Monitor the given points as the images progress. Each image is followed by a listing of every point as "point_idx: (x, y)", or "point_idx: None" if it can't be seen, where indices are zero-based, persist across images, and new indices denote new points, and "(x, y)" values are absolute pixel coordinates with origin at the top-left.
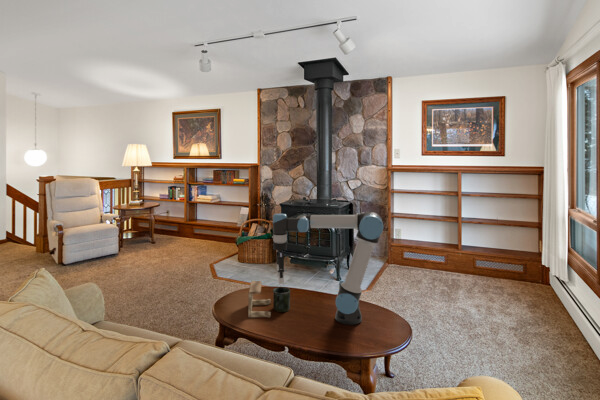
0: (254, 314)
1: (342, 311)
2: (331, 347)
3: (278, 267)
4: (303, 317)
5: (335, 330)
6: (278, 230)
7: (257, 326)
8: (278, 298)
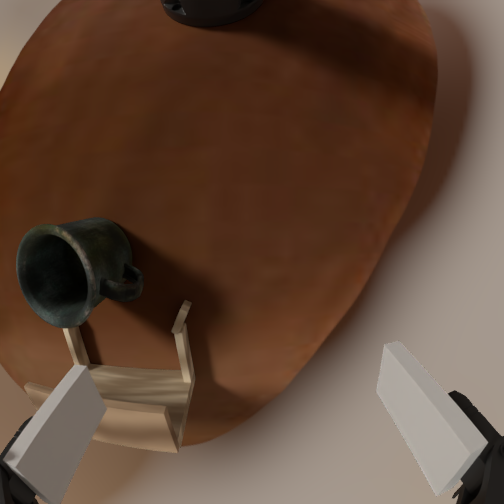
0: (190, 365)
1: None
2: (425, 89)
3: (58, 471)
4: (184, 149)
5: (313, 40)
6: None
7: (276, 343)
8: (124, 292)
